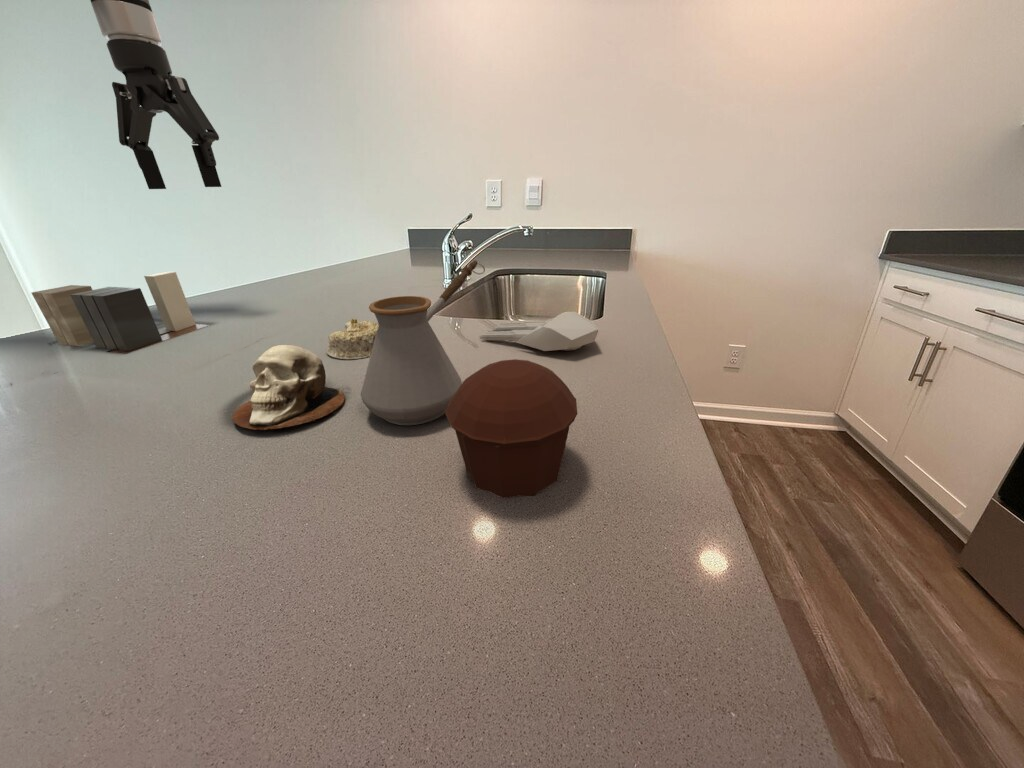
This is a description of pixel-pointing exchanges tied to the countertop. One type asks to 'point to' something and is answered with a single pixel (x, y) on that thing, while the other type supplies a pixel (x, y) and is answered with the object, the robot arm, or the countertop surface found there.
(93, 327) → the grey stand
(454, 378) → the coffee pot
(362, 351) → the cake
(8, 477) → the countertop surface
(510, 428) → the muffin
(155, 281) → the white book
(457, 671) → the countertop surface
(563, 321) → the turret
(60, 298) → the tan wooden block
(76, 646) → the countertop surface
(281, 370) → the skull
